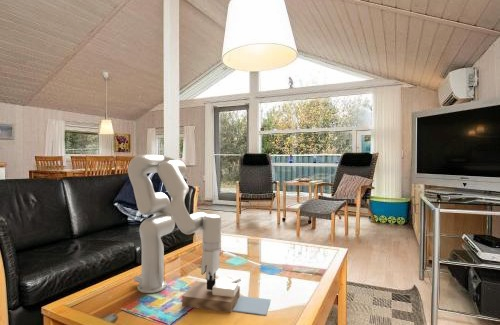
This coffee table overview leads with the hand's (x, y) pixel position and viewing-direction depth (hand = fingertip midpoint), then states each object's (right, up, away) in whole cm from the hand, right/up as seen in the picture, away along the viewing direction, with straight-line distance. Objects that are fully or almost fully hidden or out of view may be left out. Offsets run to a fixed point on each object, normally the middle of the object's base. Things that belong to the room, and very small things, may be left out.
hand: (211, 288), depth 123 cm
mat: (+17, -5, -3) cm, 18 cm away
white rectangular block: (+6, 0, -1) cm, 6 cm away
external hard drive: (+5, -5, +18) cm, 20 cm away
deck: (0, -5, 0) cm, 5 cm away
